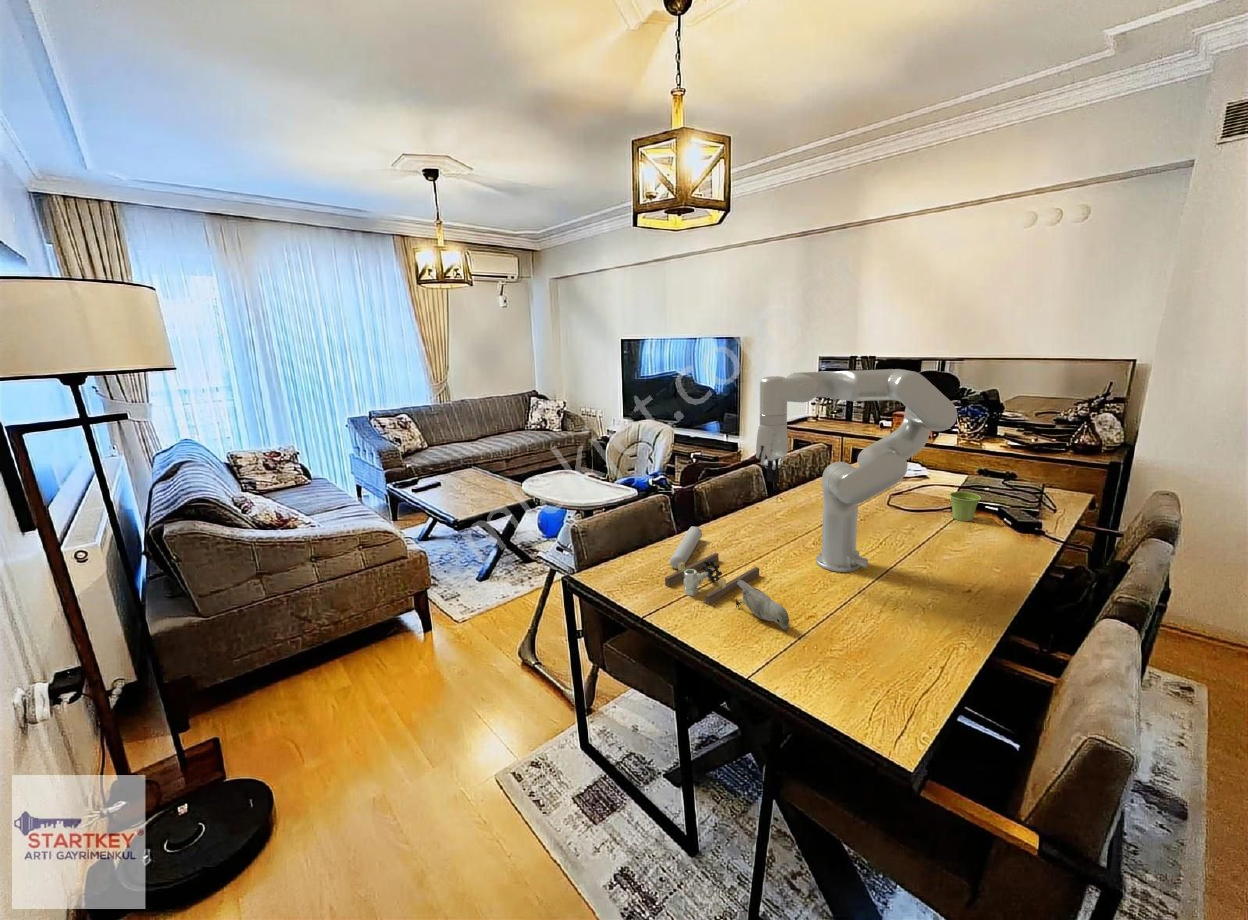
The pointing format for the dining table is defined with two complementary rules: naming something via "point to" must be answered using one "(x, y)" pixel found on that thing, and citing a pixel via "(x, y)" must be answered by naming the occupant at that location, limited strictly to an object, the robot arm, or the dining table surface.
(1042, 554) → the dining table surface
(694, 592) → the valve
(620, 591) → the dining table surface
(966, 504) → the plant pot
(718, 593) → the guide track
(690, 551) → the tube
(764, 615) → the decorative bird
